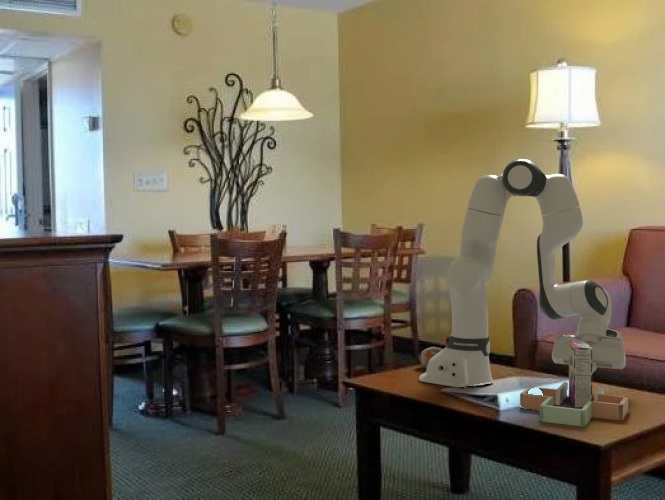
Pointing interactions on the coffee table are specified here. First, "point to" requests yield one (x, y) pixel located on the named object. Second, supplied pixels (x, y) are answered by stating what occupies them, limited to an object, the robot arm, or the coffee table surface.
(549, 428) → the coffee table surface
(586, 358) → the candy bar box
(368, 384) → the coffee table surface
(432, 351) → the decorative duck model
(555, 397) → the channel
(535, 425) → the coffee table surface
